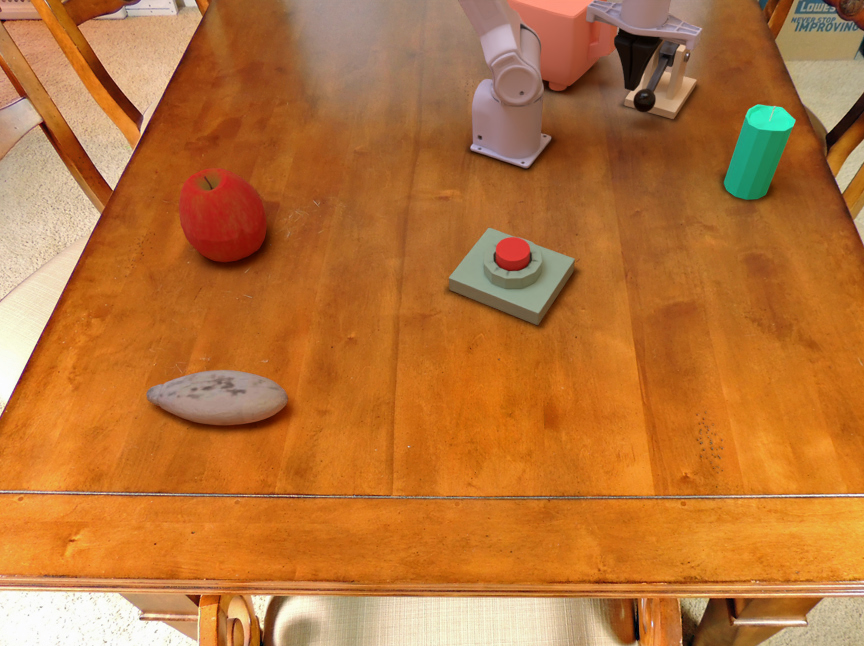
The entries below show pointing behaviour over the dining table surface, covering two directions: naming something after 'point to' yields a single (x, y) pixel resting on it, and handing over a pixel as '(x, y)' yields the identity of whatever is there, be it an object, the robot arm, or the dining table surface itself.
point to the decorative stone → (220, 397)
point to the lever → (655, 77)
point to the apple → (222, 215)
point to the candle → (758, 151)
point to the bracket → (667, 84)
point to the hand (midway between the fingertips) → (632, 86)
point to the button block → (512, 278)
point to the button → (512, 254)
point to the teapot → (565, 38)
